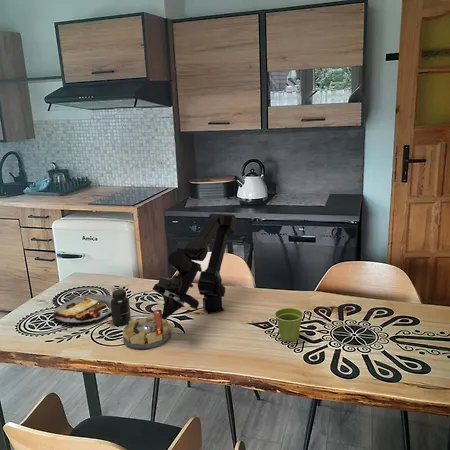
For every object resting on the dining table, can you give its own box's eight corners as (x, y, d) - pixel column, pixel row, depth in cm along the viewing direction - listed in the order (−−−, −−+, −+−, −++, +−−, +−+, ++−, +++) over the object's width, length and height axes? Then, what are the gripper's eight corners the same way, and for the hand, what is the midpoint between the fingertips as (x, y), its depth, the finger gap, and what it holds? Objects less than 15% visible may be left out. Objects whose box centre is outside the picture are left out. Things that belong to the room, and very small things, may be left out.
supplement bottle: (126, 326, 164) (123, 296, 161) (109, 325, 165) (105, 295, 162) (134, 318, 170) (130, 288, 167) (117, 317, 172) (113, 287, 169)
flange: (154, 321, 167) (153, 310, 165) (180, 336, 155) (179, 324, 154) (115, 338, 156) (113, 325, 155) (139, 355, 145) (138, 342, 144)
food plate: (84, 332, 161) (83, 323, 161) (40, 320, 173) (39, 311, 172) (131, 305, 182) (130, 297, 182) (89, 296, 194) (88, 289, 193)
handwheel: (136, 321, 164) (133, 297, 162) (175, 324, 160) (173, 299, 158) (116, 342, 150) (113, 316, 148) (159, 346, 146) (156, 319, 144)
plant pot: (285, 348, 145) (285, 323, 142) (269, 335, 153) (269, 312, 151) (309, 340, 149) (309, 315, 147) (292, 328, 157) (292, 305, 155)
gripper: (153, 261, 156) (130, 301, 152) (188, 272, 143) (164, 317, 139) (173, 275, 163) (152, 314, 159) (209, 287, 150) (186, 330, 146)
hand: (163, 318), depth 150 cm, fingers closed, pressing on handwheel
